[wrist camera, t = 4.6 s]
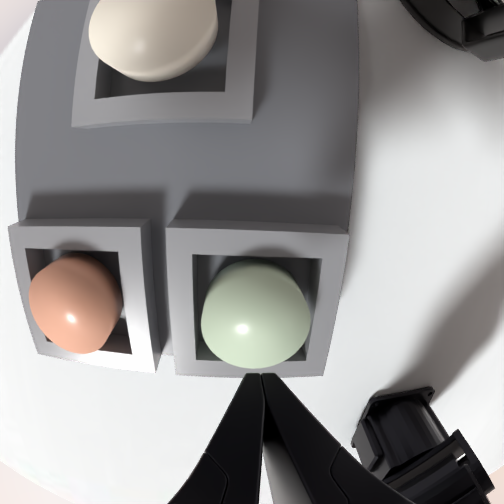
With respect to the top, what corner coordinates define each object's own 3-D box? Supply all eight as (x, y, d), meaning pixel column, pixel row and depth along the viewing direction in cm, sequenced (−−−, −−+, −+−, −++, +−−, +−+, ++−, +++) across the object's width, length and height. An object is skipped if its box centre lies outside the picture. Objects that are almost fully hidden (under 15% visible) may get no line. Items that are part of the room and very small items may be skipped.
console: (337, 6, 12) (366, -30, 8) (313, 327, 18) (332, 374, 14) (62, 17, 11) (23, -8, 7) (64, 313, 17) (31, 352, 13)
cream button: (222, -14, 8) (220, -38, 6) (213, 80, 9) (209, 66, 8) (117, -4, 8) (101, -23, 6) (102, 87, 9) (80, 78, 7)
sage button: (307, 260, 13) (317, 277, 11) (295, 343, 14) (302, 367, 12) (204, 257, 12) (199, 274, 11) (205, 342, 14) (202, 367, 12)
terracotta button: (117, 254, 12) (100, 270, 10) (128, 337, 13) (117, 359, 12) (41, 251, 12) (20, 264, 10) (57, 327, 13) (41, 346, 11)
